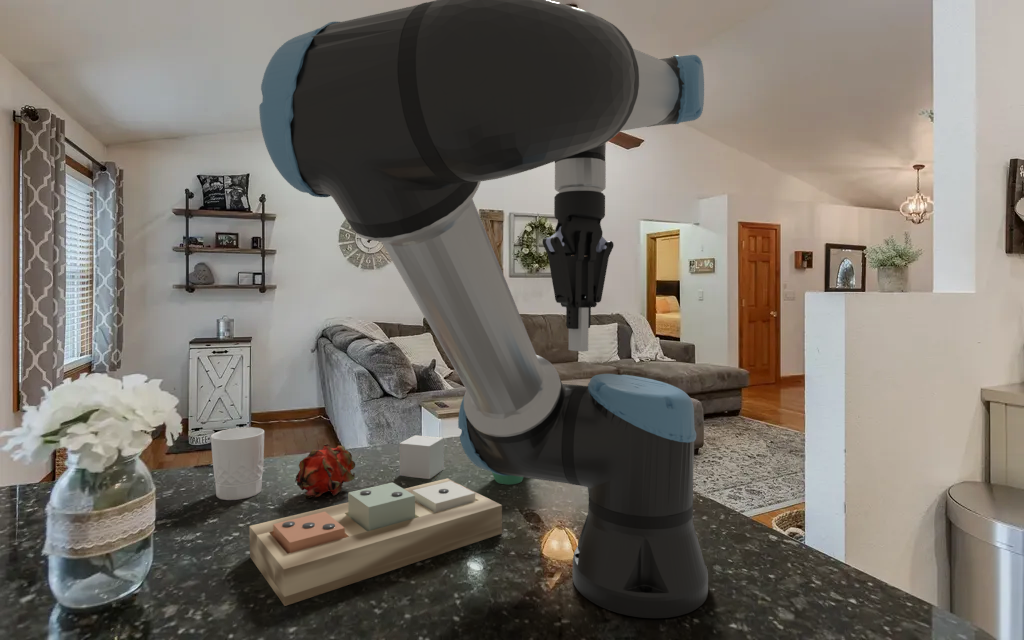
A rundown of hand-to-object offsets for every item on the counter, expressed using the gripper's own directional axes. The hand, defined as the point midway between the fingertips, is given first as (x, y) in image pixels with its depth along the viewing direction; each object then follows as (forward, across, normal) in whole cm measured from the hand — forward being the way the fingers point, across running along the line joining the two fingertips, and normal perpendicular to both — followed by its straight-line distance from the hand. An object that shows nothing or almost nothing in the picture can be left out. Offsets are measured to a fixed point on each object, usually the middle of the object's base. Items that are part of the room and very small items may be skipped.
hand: (578, 350), depth 86 cm
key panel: (+24, +29, -7) cm, 39 cm away
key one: (+23, +19, -7) cm, 31 cm away
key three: (+23, +39, -7) cm, 46 cm away
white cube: (+25, +10, -30) cm, 40 cm away
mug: (+25, -2, -18) cm, 31 cm away
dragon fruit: (+25, +28, -30) cm, 48 cm away
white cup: (+25, +39, -39) cm, 60 cm away
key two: (+22, +29, -7) cm, 37 cm away
